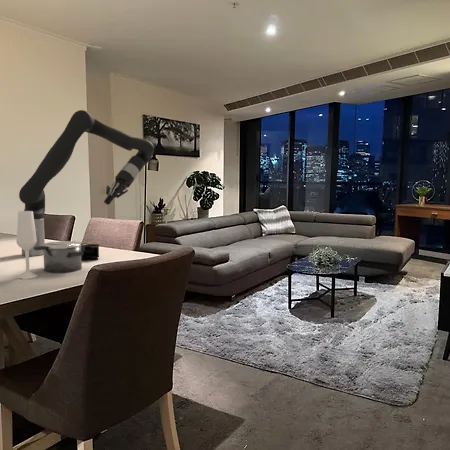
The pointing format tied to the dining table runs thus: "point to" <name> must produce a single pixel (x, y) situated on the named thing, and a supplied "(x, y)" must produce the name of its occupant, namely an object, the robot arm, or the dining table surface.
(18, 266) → the dining table surface
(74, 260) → the pot
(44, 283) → the dining table surface
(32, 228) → the champagne flute
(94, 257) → the end cap
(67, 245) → the lid
